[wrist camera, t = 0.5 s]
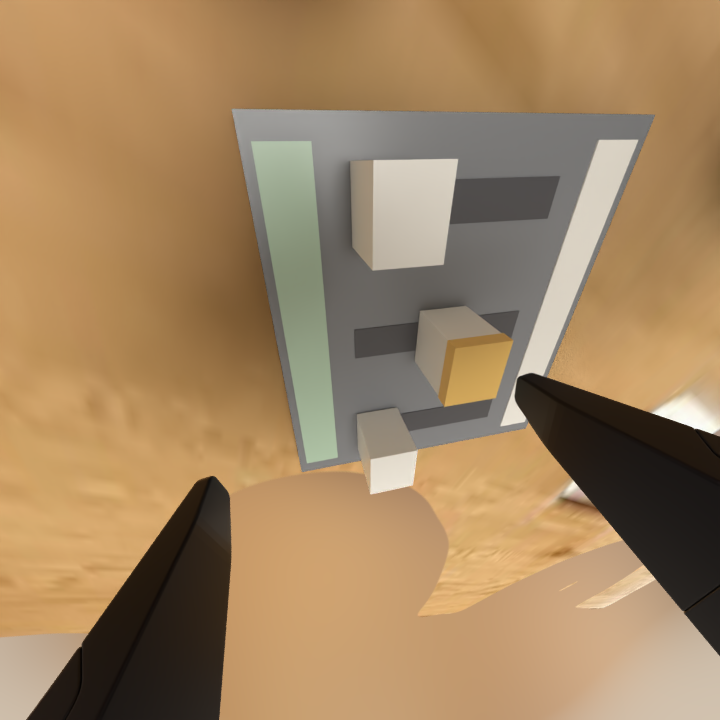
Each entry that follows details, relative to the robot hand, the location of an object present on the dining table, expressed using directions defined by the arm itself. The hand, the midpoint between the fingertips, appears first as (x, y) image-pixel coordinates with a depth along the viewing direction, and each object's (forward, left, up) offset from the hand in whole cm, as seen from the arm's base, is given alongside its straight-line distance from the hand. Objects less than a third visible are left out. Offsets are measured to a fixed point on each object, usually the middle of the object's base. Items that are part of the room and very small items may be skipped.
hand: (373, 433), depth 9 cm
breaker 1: (-3, -5, -10) cm, 11 cm away
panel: (-7, +3, -11) cm, 13 cm away
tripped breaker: (-7, +3, -10) cm, 12 cm away
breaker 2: (-3, +10, -10) cm, 14 cm away
